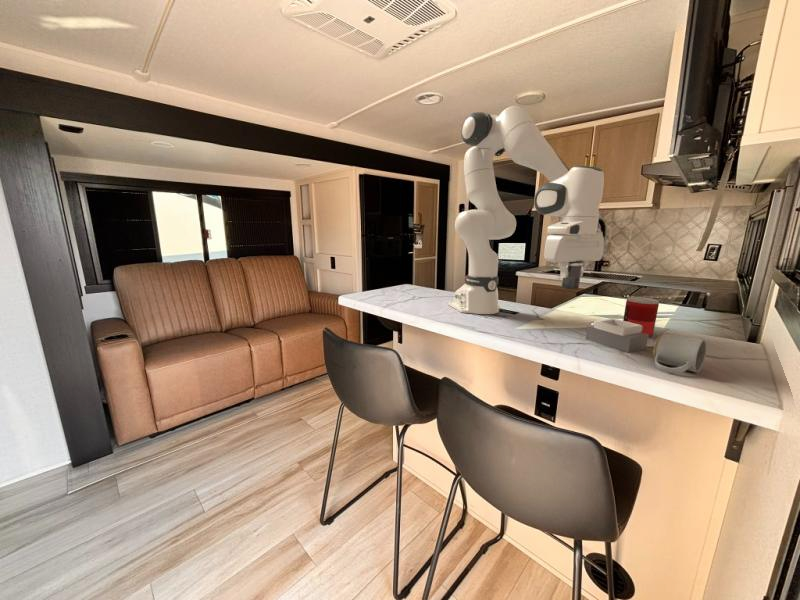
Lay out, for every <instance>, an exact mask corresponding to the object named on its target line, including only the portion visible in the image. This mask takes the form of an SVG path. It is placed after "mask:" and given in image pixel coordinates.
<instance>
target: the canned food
mask: <svg viewBox="0 0 800 600" xmlns="http://www.w3.org/2000/svg"><path fill="white" fill-rule="evenodd" d="M625 301H626V302H625V307H624V313H623V318H622V321H626V322H630V323H634V324H639V325H642V328H641V332H642V333H645V334H649V336H648V338H649V337H651V336H652V335H653V334H654V331H655V326H656V322H657V321H656V320H657V315H658V311H659V305H660V301H659V300H658V299H655V298H650V297H644V296H643V297H642V296H629V297H627V298H626V300H625Z"/></svg>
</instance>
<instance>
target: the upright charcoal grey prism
mask: <svg viewBox="0 0 800 600" xmlns="http://www.w3.org/2000/svg"><path fill="white" fill-rule="evenodd" d="M582 266H583V261H575V262H569V264H568V266H567V270H568V272H570V273H569V277H568V278H562V279H561V281H562V282H561V288H562V289H566V290H580V289H579V287H580V283H581V277H580V276H581V270H582Z"/></svg>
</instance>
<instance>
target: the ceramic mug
mask: <svg viewBox="0 0 800 600" xmlns="http://www.w3.org/2000/svg"><path fill="white" fill-rule="evenodd" d="M707 347H708V346H707V341H706V340H705V339H703V338H697V337H690V336H684V335H677V334H671V333H670V334H669V333H663V334H660V335H659V336H657V338H656V340H655V342H654V346H653V350H652V351H653V352H652V353H653V359H654V364H655V365H654V366H655V367H656V368H657V369H659V371H661V372H664V373H667V374H674V375H675V374H682V373H685V372H686V371H689V372H693V373H699V372H700V371H701V369H702V367H703V365H704V362H705V358H706V353H707ZM660 363H661V364H660ZM662 364H663V365H662ZM664 365H667V366H664ZM668 366H671V367H668Z"/></svg>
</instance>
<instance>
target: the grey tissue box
mask: <svg viewBox="0 0 800 600" xmlns="http://www.w3.org/2000/svg"><path fill="white" fill-rule="evenodd" d="M641 328H642V325H639V324H634V323H630V322H626V321H623V319H618V318H613V317H611V318H604V319H598V320H594V322H591V324H590V325H587V326H586V332H585V333H586V334H585V340H589V341H591V342H595V343H598V344H599V345H604V346H607V347H610V348H613V349H616V350H619V351H622V352H626V353H632V352H637V351H641V350H645V349H647V347H648V346H647V345H648V340H649V337H648V336H649V334H645V333H642V332H641Z"/></svg>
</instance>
